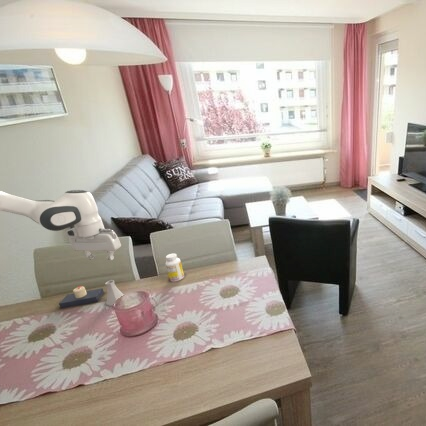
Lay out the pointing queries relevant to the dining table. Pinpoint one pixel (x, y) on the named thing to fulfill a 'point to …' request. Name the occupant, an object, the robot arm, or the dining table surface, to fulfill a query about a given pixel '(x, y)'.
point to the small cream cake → (79, 292)
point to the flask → (112, 293)
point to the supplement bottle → (174, 267)
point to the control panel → (82, 298)
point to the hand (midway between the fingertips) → (101, 259)
